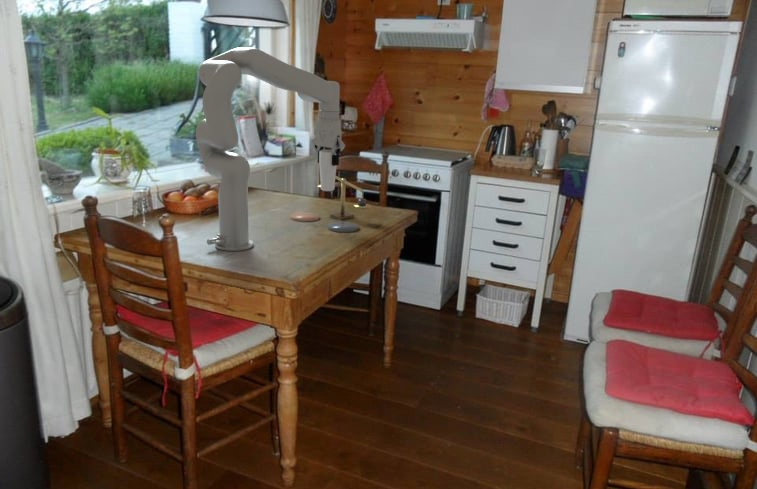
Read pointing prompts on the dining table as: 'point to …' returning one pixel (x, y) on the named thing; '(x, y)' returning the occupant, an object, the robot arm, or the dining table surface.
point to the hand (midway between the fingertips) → (328, 163)
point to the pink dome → (304, 216)
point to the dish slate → (343, 227)
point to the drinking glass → (327, 170)
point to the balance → (343, 214)
